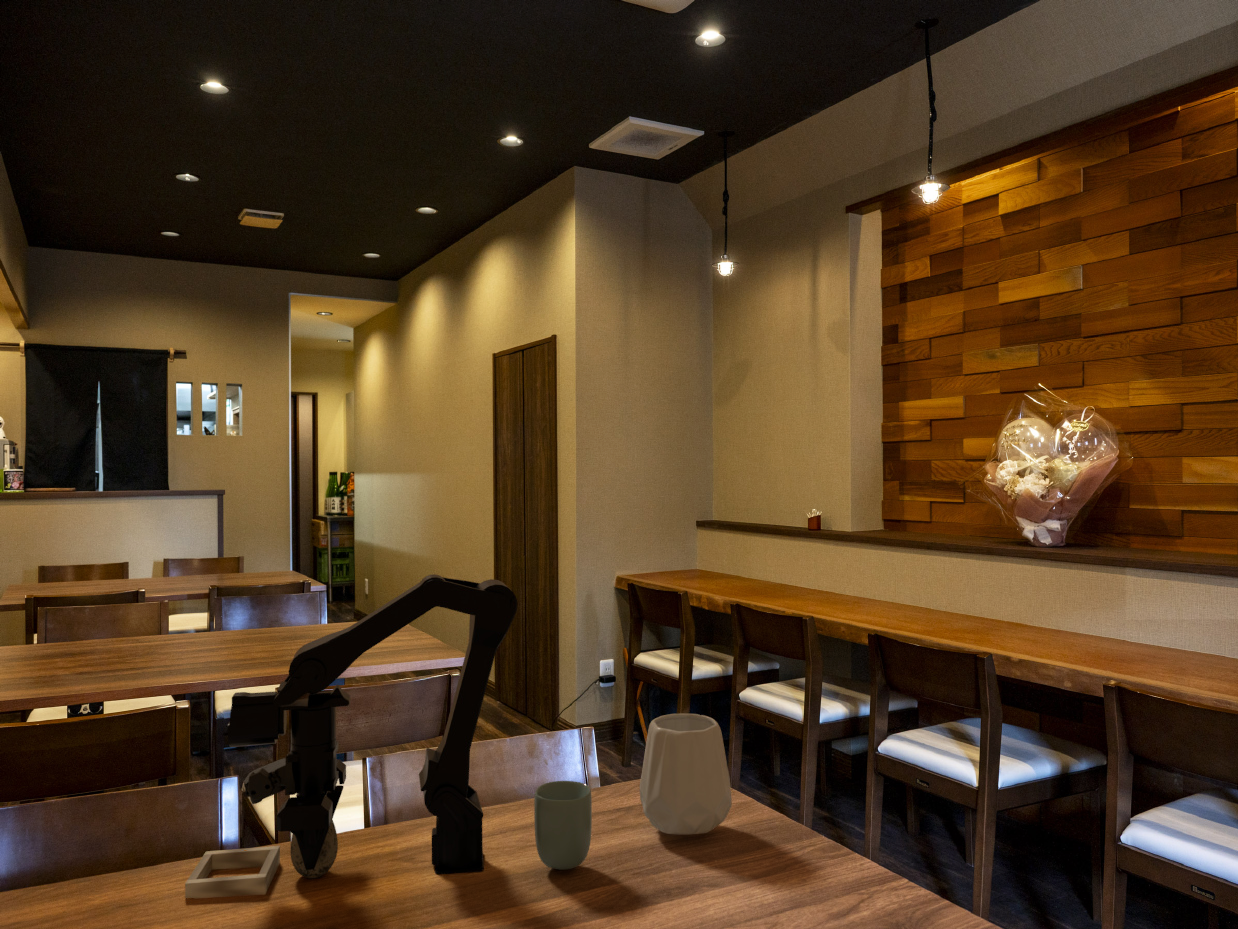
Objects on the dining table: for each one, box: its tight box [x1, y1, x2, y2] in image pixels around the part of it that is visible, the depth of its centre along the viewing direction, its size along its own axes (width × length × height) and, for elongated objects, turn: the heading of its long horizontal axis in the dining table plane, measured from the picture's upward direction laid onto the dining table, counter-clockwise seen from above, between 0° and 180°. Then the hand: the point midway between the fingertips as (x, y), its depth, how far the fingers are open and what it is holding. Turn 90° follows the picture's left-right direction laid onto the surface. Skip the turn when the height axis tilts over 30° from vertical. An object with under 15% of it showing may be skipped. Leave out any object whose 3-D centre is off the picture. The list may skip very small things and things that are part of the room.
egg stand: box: [184, 845, 281, 899], centre depth 118 cm, size 10×10×2 cm
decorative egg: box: [289, 819, 339, 879], centre depth 119 cm, size 6×6×10 cm
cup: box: [533, 780, 593, 871], centre depth 123 cm, size 8×8×10 cm
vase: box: [639, 712, 733, 835], centre depth 137 cm, size 14×14×15 cm
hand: (314, 857), depth 119 cm, fingers open, 7 cm apart
